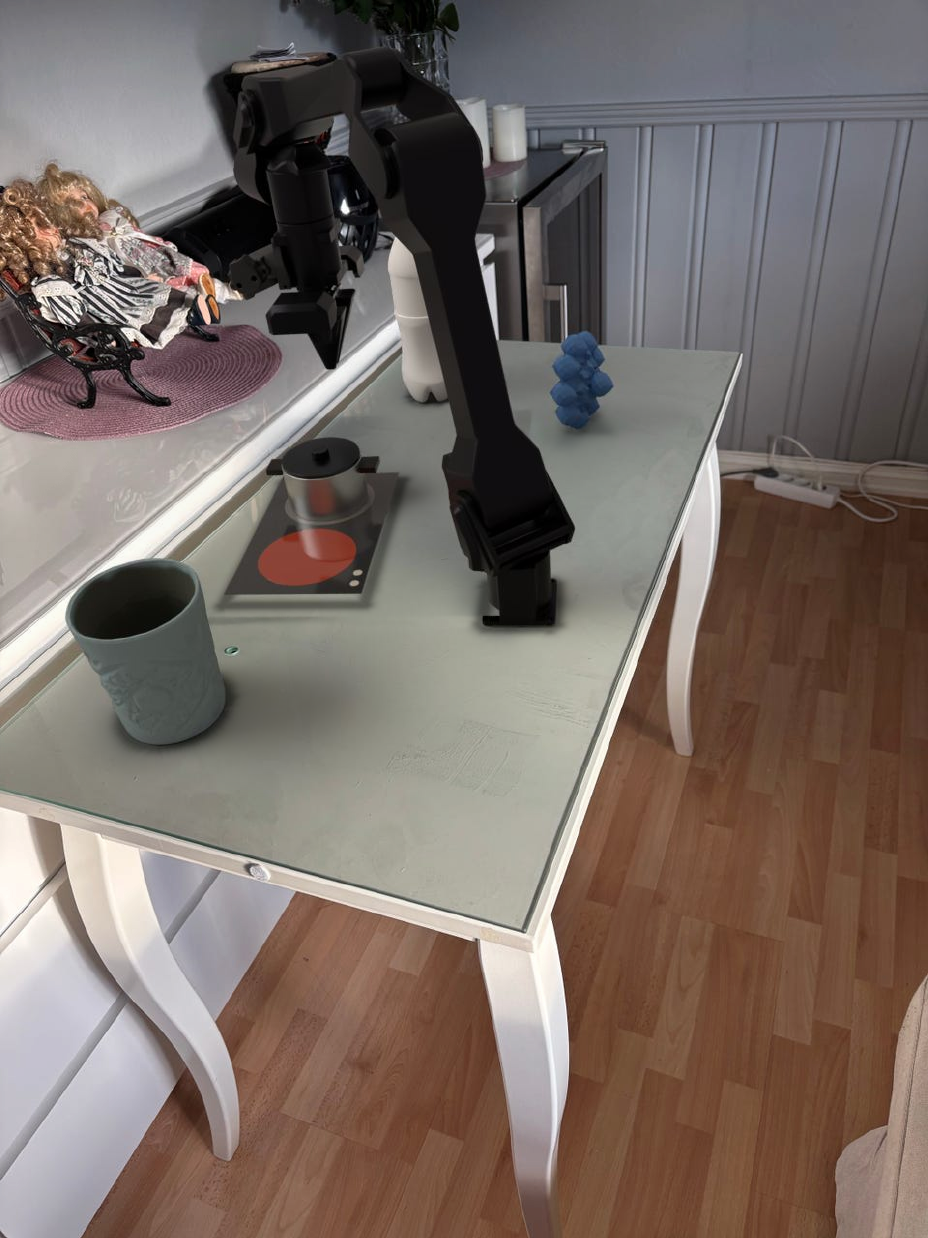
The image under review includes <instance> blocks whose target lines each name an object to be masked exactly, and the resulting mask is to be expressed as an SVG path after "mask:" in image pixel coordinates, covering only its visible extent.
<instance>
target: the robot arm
mask: <svg viewBox="0 0 928 1238" xmlns="http://www.w3.org/2000/svg"><path fill="white" fill-rule="evenodd" d="M241 89H242V91H239V93H238V95H237V109H236V117H235V121H234V128H233V133H232V138H233V141H234V143H235V145H236V149H237V152H236V154H235V157H234V160H233V167H232V173H233V178H234V180H235V183H236V184H237V185H238V187H239V189H240V190H241V191H242V192H243V193H244V194H246V195H247V196H249V197H250V198H252V199H254V200H257V201H259V202H262V203H264V204H266V205H267V206H270V207H273V212H274V217H275V222H276V227H277V230H276V231H275V233H274V234H273V235H272V237H271V239H270V241H271V242H270V244H268V245H266V246H264V247H262V248H259V249H257V250H256V251H254V252H251V253H249V254H247V253H244V254H242V256H241V257H240V258H238V259H237V258H234V259H233V260H232V261H231V262H230V263H229V271H228V274H227V278H229V281H230V283H229V288H230V289H231V290H232V291H234V292H237V293H238V294H241V295H242V297H243V299H244V301H249V300H251V299H253V298H255V296H256V295H257V294H259V293H261V292H263V291H266V290H268V289H269V288H272V287H274V286H276V285H278V288H279V291H286V290H287V292H280V294H279V295H278V297H277V298H276V299H275V300H274V302H273V303H272V305H271V306H270V308H269V309H268V310H267V312H266V313H265V315H264V316H265V320H266V325H267V329H268V333H269V334H270V335H272V336H287V335H288V336H290V335H307V336H308V338H309V340H310V341H311V344H312V346H313V347H314V349H315V351H316V353H317V355H318V357H319V359H320V361H321V362H322V365H323V367H324V368H325V369H326V370H327V371H329V370H330V371H332V370H336V369H337V366H338V365H339V362H340V359H341V355H342V350H343V346H344V341H345V337H346V334H347V333H346V332H347V330H348V329H347V328H348V324H349V320H350V316H351V311H352V308H353V303H354V299H355V295H356V293H357V291H356V289H355V288H353V287H352V288H351V287H350V288H343V285H342V280H343V279H344V277H345V276H346V274H347V272H352V275H353V276H354V278H355V279H361V278H362V276H363V274H364V272H365V270H366V269H365V262H364V257H363V252H362V251H360V250H359V249H358V248H357V247H356V246H355V245H353V244H348V245H347V244H345V245H340V244H339V237H338V234H339V233H340V232H341V230H342V224H341V218H339V217H338V218H337V217H336V218H335V213H334V207H333V201H332V196H331V195H332V194H331V190H330V189H331V187H330V182H329V177H328V170H331V169H332V168H333V167H332V166H333V165H332V161H331V160H330V158H329V156H328V155H327V154H326V153H324V152H323V151H322V150H321V149H320V148H319V146H317V143H316V142H315V141H317V140H318V139H319V137H320V135H322V134H324V133H325V132H326V131H327V130H329V129H330V128H332V127H333V125H334V123H335V120H334V118H336V117H339V116H345V117H346V119H347V121H348V122H349V131H348V145H347V146H348V147H347V148H348V149H347V155H348V158H349V159H350V161H351V163H352V165H353V166H354V168H355V169H356V171H357V172H358V174H359V175H360V177H361V178H362V180H363V182H364V183H365V185H366V186H367V188H368V190H369V192H370V193H371V194H372V196H373V197H374V199H375V201H376V204H377V208H378V211H379V213H380V214H379V215H380V216H381V219H382V222H383V224H384V226H385V227H386V228H387V229H388V230H389V232H390V233H392V234H393V235H394V237H397V238H398V240H399V241H400V242H401V243H402V244H403V245H404V246H405V247H406V248H407V249H408V250H409V251H410V252H411V254H412V255H413V258H414V262H415V265H416V269H417V274H418V278H419V282H420V286H421V290H422V294H423V298H424V302H425V306H426V310H427V314H428V318H429V322H430V327H431V331H432V335H433V339H434V343H435V347H436V351H437V355H438V359H439V363H440V367H441V371H442V376H443V380H444V384H445V388H446V392H447V396H448V398H447V400H448V404H449V408H450V412H451V416H452V421H453V424H454V428H455V434H456V436H455V439H454V443H453V446H452V450H451V452H448V453H445V454H443V456H442V459H441V470H442V473H443V476H444V478H445V482H446V487H447V491H448V501H449V507H448V508H449V511H450V514H451V518H452V521H453V525H454V529H455V532H456V535H457V539H458V542H459V545H460V549H461V551H462V554H463V555H464V557H465V558H467V564H468V569H469V570H471V571H472V572H480V573H483V572H484V573H485V574H486V582H487V592H488V594H487V595H488V601H489V603H490V604H491V606H493V608H495V609H496V610H498V615H482V618H481V621H482V625H483V626H485V627H486V626H487V627H525V626H526V627H527V626H528V627H538V626H539V627H547V626H548V627H551V626H554V625H555V624H556V619H557V615H556V614H557V593H558V592H557V591H558V581H557V579H556V578H555V577H553V578H552V567H551V565H552V564H551V551H553V550H555V549H557V548H558V547H561V546H563V545H568V544H570V543H572V541H573V538H574V534H575V531H576V526H575V524H574V521H573V519H572V517H571V515H570V514H569V512H568V509H567V507H566V506H565V504H564V502H563V500H562V498H561V495H560V494H559V491H558V489H557V487H556V486H555V484H554V482H553V480H552V478H551V476H550V474H549V472H548V470H547V468H546V465H545V462H544V458H543V456H542V453H541V452H542V451H541V449H540V447H538V446H537V445H536V443H535V442H533V441H532V440H531V439H530V437H529V436H528V435H527V434H526V433H524V431H523V430H522V429H521V428H520V427H519V426H518V425H517V424H516V420H515V418H514V414H513V410H512V409H513V408H512V405H511V400H510V396H509V391H508V387H507V382H506V376H505V373H504V368H503V364H502V359H501V355H500V349H499V345H498V341H497V336H496V330H495V326H494V322H493V317H492V312H491V308H490V304H489V298H488V293H487V290H486V285H485V280H484V275H483V271H482V266H481V262H480V257H479V253H478V248H477V243H476V236H477V234H478V230H479V227H480V223H481V220H482V216H483V212H484V208H485V205H486V201H487V198H488V197H487V196H488V195H487V187H486V176H485V170H484V149H483V144H482V141H481V138H480V136H479V134H478V132H477V131H476V129H475V127H474V126H473V125H472V123H471V122H470V120H469V118H468V117H467V116H466V114H465V112H464V111H463V109H462V108H461V107H460V105H459V104H458V102H457V101H456V99H455V98H454V96H453V95H451V93H450V92H448V91H446V90H445V89H443V88H442V87H440V86H439V85H436V84H435V83H434V82H432V81H430V80H429V79H427V78H426V77H425V76H422V75H421V74H419V73H418V72H417V71H415V70H414V69H413V68H412V66H411V64H409V62H408V61H407V59H406V57H405V56H404V54H403V53H402V52H401V51H400V50H399V49H398V48H391V47H390V46H388V45H387V46H385V45H383V46H377V47H373V48H366V49H360V50H356V51H355V50H354V51H349V52H344V53H342V54H340V57H339V58H335V59H334V61H330V62H328V63H325V64H323V65H319V66H315V65H309V64H305V65H298V66H291V67H287V68H281V69H275V70H270V71H264V72H260V73H253V74H249V75H245V76H244V77H243V79H242V81H241ZM392 107H393V108H394V107H395V108H396V109H397V111H398V112H399V113H400V114H401V115H402V116H404V117H405V118H407V120H406V121H403V122H402V121H401V122H398V123H394V124H388V125H384V126H379V127H378V128H377V129H375V131H374V132H372V130H371V128H369V127H370V126H368V124H367V123H366V122H365V120H364V118H363V116H362V114H363V113H368V112H373V111H378V110H382V109H387V108H392ZM292 289H296V291H292V292H291V291H290V292H288V290H292Z"/></svg>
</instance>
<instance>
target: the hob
mask: <svg viewBox="0 0 928 1238" xmlns="http://www.w3.org/2000/svg"><path fill="white" fill-rule="evenodd" d="M399 474H400V472H398V471H397V472H396V471H395V472H376V473H365V477H366V483H367V489H368V500H367V502H366V503H365V505H364V506H363V507H362V508H360V509H359V510H358V511H356V512H355V513H353V514H351V515H348V516H346V517H343V518H339V519H335V520H329V521H312V520H307V519H303V518H301V517H299V516H297V515H296V514H295V513H294V512H293V510H292V508H291V504H290V500H289V495H288V491H287V487H286V483H285V479H284V475H282V478H281V480H280V482H279V484H278V486H277V488H276V490H275V492H274V494H273V496H272V498H271V500H270V502H269V504H268V506H267V508H266V509H265V511H264V514H263V516H262V518H261V519H260V522H259V524H258V526H257V527H256V529H255V532H254V533H253V536H252V537H251V540H250V542H249V543H248V545H247V548H246V549H245V551H244V554H243V555H242V558H241V560H240V561H239V564H238V566H237V567H236V570H235V571H234V573H233V576H232V577H231V579H230V581H229V584H228V585H227V588H226V589H225V592H224V593H223V595H224V596H226V595H227V596H232V595H234V596H235V595H237V596H240V595H241V596H242V595H243V596H245V595H250V596H253V595H362V594H363V590H364V587H365V584H366V581H367V577H368V574H369V572H370V568H371V564H372V561H373V557H374V554H375V552H376V548H377V545H378V542H379V539H380V535H381V532H382V530H383V526H384V522H385V519H386V516H387V514H388V509H389V506H390V503H391V500H392V497H393V493H394V490H395V486H396V484H397V481H398V477H399Z"/></svg>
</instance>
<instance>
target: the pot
mask: <svg viewBox="0 0 928 1238" xmlns="http://www.w3.org/2000/svg"><path fill="white" fill-rule="evenodd" d="M380 463H381V460H380V456H379V455H373V456H372V455H371V456H362V451H361V450H360V447H359V445H358V444H357V443H356V442H354V441H352V440H350V439H347V438H342V437H336V436H335V437H333V436H331V437H330V436H329V437H328V436H327V437H318V438H313V439H310V440H307V441H304V442H301V443H299V444H296V445H294V446H293V447H291V448H290V449H289V450H287V451H286V452H285V454H284V455H283V457H282V458H272V459H270V461H269V463H268V464H267V467H266V469H265V473H266V476H267V477H269V476H284V479H285V483H286V487H287V491H288V495H289V500H290V504H291V508H292V510H293V512H294V513H295V514H296V515H297V516H299V517H301V518H303V519H307V520H312V521H329V520H335V519H339V518H343V517H346V516H348V515H351V514H353V513H355V512H356V511H358V510H359V509H360V508H362V507H363V506H364V505H365V503H366V502H367V500H368V489H367V483H366V477H365V473H377V472H378V469H379V466H380Z"/></svg>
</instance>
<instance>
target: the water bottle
mask: <svg viewBox="0 0 928 1238" xmlns="http://www.w3.org/2000/svg"><path fill="white" fill-rule="evenodd" d="M387 270H388V274H389V278H390V285H391V293H392V300H393V307H394V309H393V314H394V318H395V320H396V322H397V325H398V330H399V334H400V340H401V348H402V349H401V352H402V359H401V360H402V361H401V374H402V381H403V383H404V385H405V388H406V390H407V391H408V392H409V394H410V395H411V397H412V398H413V399H414V400H415V401H416V402H418V403H426V402H427V401H428V398H429V396H430V393H432V394H433V396H434V398H435V400H436V401H437V402H443V401H446V400H448V396H447V392H446V388H445V384H444V380H443V376H442V371H441V367H440V363H439V359H438V355H437V351H436V347H435V343H434V339H433V335H432V331H431V327H430V322H429V318H428V314H427V310H426V306H425V302H424V298H423V294H422V290H421V286H420V282H419V278H418V274H417V269H416V265H415V262H414V258H413V255H412V254H411V252H410V251H409V250H408V249H407V248H406V247H405V246H404V245H403V244H402V243H401V242H400V241H399V240H398V238H397V237H396V236H394V239H393V242H392V245H391V248H390V251H389V255H388V260H387Z"/></svg>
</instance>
